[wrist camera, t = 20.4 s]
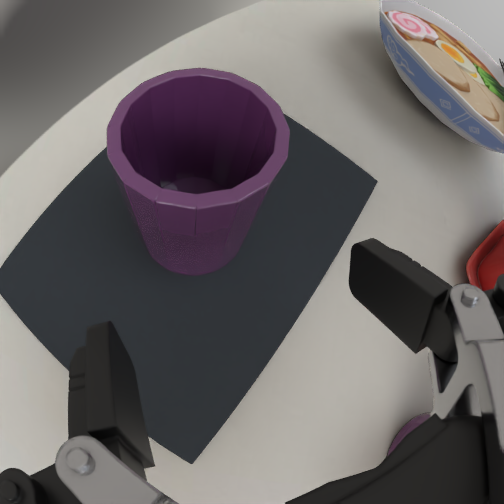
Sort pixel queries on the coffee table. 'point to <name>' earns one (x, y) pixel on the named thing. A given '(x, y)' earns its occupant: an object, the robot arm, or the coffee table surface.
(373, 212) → the coffee table surface
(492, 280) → the butter dish
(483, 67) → the ramen bowl
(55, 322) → the mat
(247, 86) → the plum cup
